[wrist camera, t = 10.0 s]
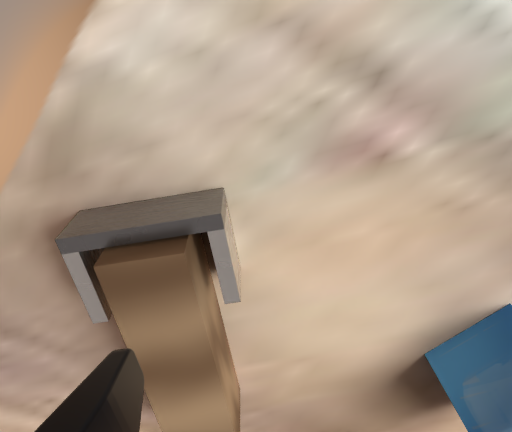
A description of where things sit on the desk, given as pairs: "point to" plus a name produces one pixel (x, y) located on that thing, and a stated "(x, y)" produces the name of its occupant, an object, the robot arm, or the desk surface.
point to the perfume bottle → (479, 372)
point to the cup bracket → (148, 239)
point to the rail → (174, 331)
